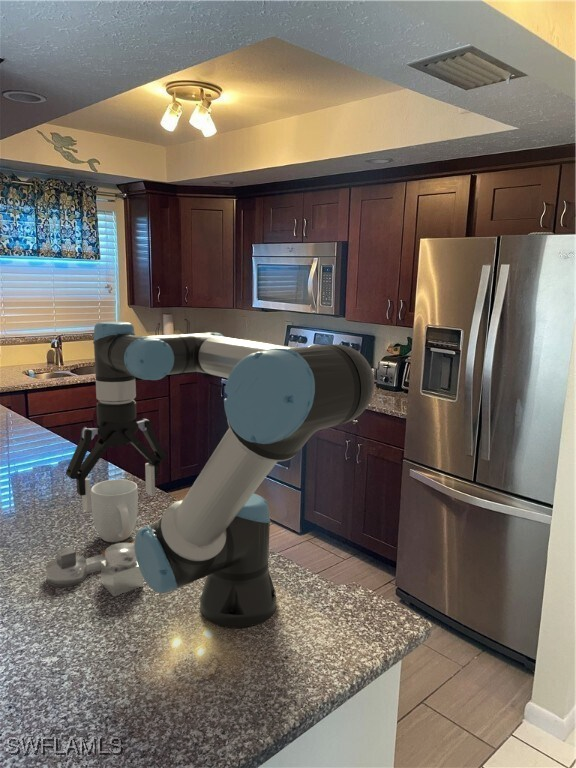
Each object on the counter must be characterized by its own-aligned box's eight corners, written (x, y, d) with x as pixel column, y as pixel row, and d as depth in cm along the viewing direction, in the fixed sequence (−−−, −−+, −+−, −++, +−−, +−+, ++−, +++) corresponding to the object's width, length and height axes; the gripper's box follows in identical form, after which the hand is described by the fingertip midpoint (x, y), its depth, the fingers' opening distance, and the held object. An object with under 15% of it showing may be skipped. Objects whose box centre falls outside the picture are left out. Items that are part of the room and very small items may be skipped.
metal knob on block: (143, 586, 117) (142, 551, 116) (113, 596, 113) (112, 560, 112) (130, 573, 122) (129, 539, 121) (101, 583, 118) (100, 548, 117)
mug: (150, 546, 135) (149, 495, 132) (104, 557, 129) (102, 504, 126) (130, 523, 147) (129, 476, 144) (87, 532, 141) (85, 483, 138)
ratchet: (150, 560, 128) (150, 535, 127) (54, 591, 114) (52, 564, 113) (135, 547, 134) (134, 523, 133) (41, 575, 120) (40, 549, 119)
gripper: (164, 390, 121) (166, 483, 125) (44, 404, 106) (50, 510, 109) (181, 396, 116) (182, 493, 120) (58, 411, 100) (64, 523, 104)
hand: (119, 501), depth 114 cm, fingers open, 13 cm apart
